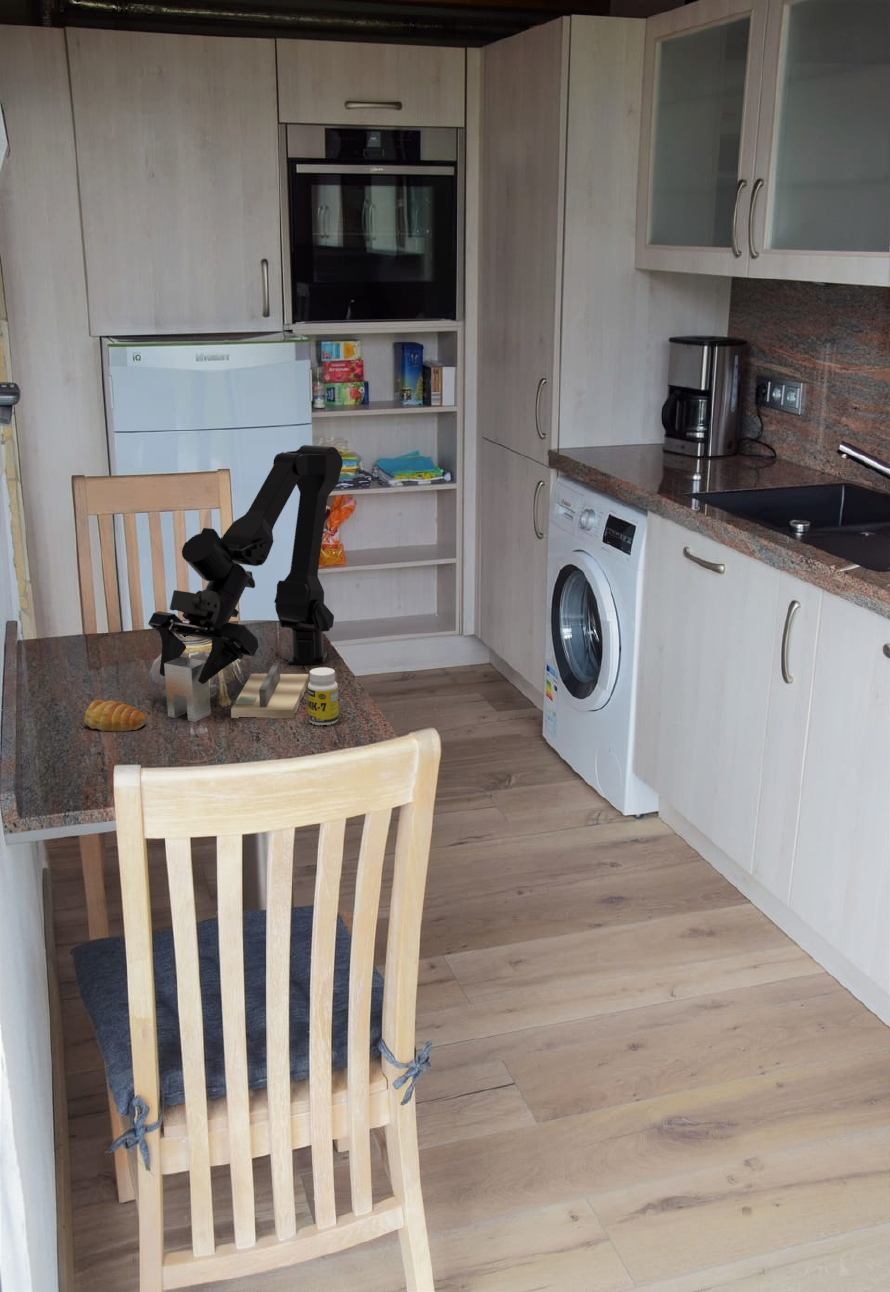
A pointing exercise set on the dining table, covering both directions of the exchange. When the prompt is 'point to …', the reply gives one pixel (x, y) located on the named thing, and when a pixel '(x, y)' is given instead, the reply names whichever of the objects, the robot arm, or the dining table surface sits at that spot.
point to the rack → (271, 695)
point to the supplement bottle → (322, 697)
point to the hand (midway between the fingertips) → (181, 678)
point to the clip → (186, 689)
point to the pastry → (113, 716)
